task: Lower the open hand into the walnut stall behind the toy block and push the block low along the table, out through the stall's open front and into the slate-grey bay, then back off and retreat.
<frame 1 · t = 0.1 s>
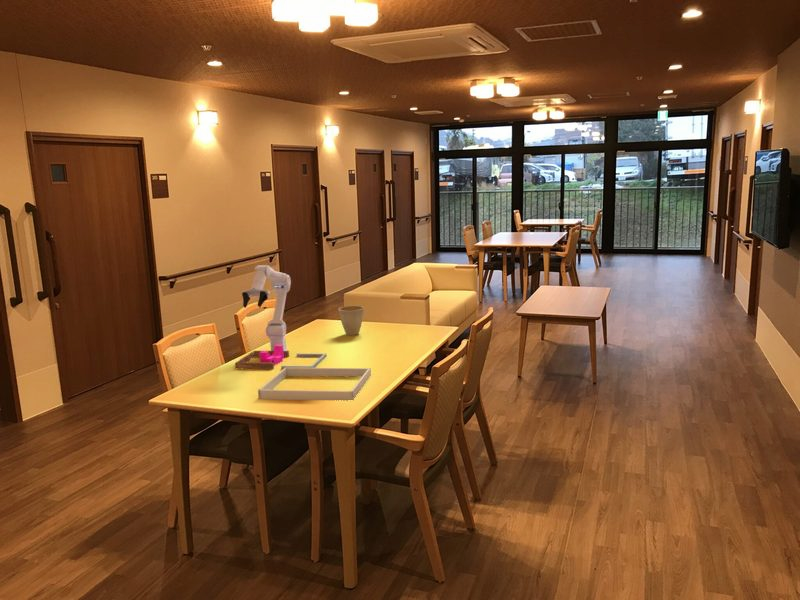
hand: (251, 306, 315), 32 cm above the table, tool tilted 50°, fingers open, 7 cm apart
plant pot: (352, 334, 382), on the table
walnut stall: (265, 362, 331), on the table
toy block: (274, 363, 330), on the table
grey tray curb: (317, 387, 287), on the table
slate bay: (303, 362, 327), on the table
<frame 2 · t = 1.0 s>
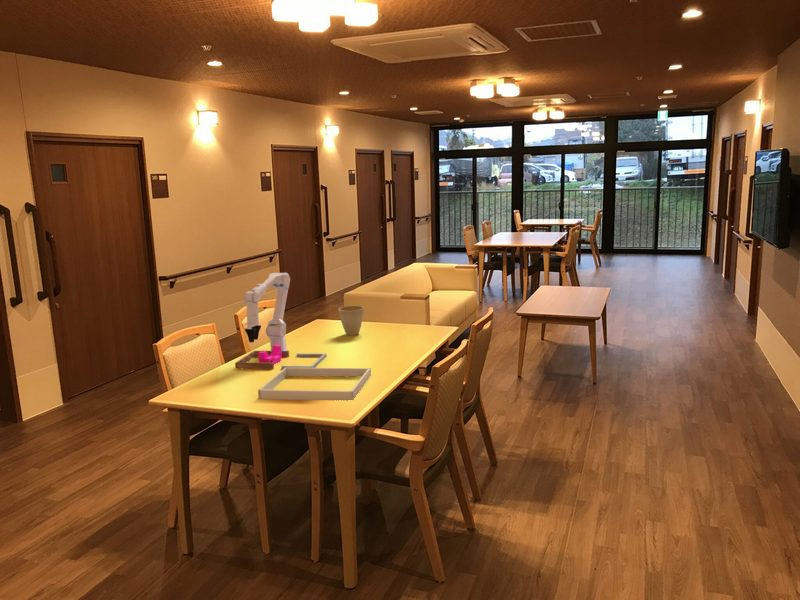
hand: (253, 340, 328), 12 cm above the table, tool pointing down, fingers open, 7 cm apart
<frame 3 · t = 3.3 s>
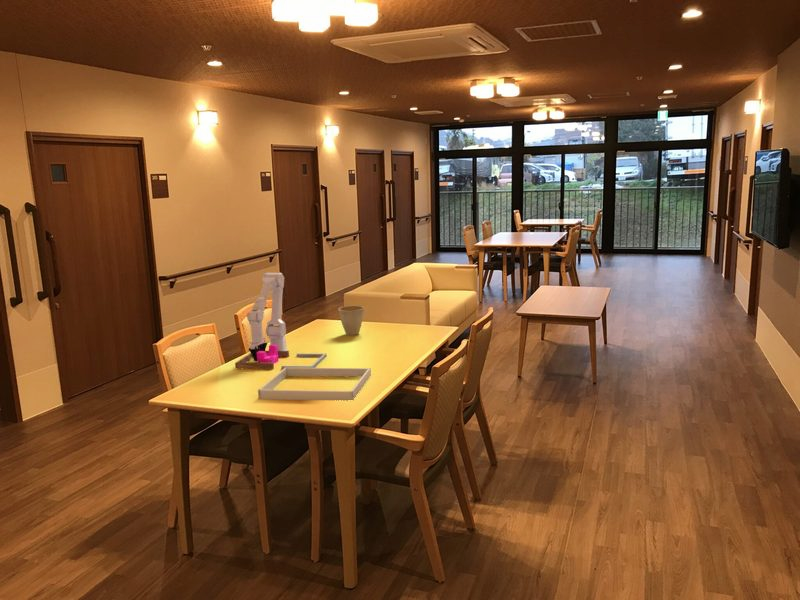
hand: (259, 358, 331), 2 cm above the table, tool pointing down, fingers open, 7 cm apart
toy block: (270, 363, 330), on the table, touching gripper
everything else where it was.
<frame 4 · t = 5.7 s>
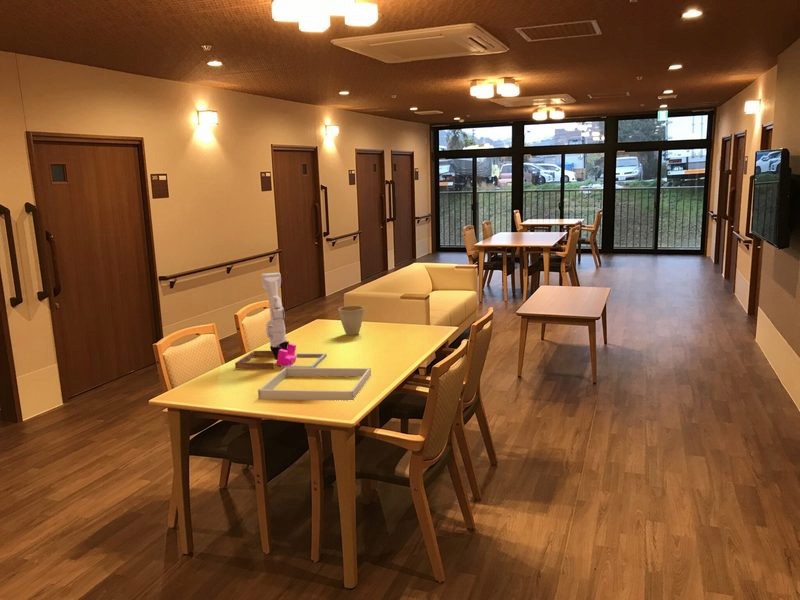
hand: (280, 357, 328), 3 cm above the table, tool pointing down
toy block: (287, 362, 328), on the table, touching gripper
everything else where it was.
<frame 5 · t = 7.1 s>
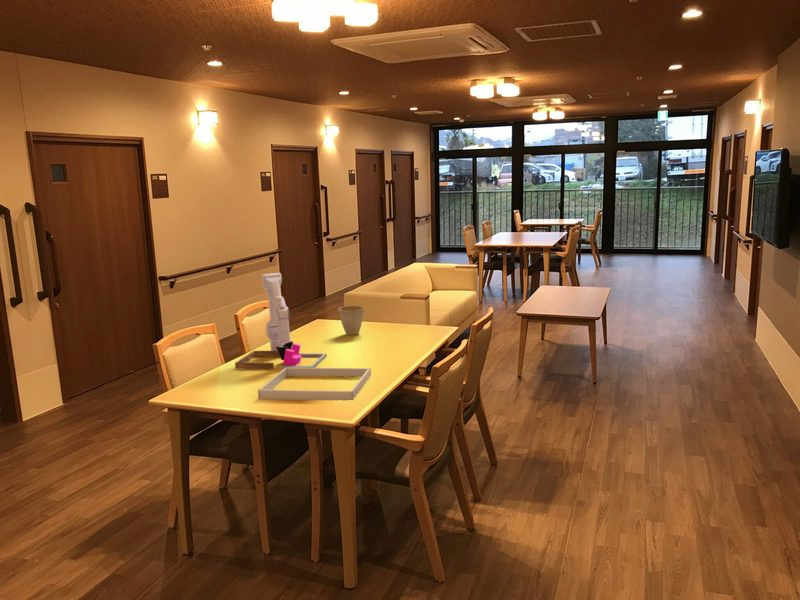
hand: (285, 357, 327), 3 cm above the table, tool pointing down
toy block: (293, 362, 327), on the table, touching gripper
everything else where it was.
when the fingers open (3 cm above the table, at t = 7.3 s): toy block moves 1 cm, on the table.
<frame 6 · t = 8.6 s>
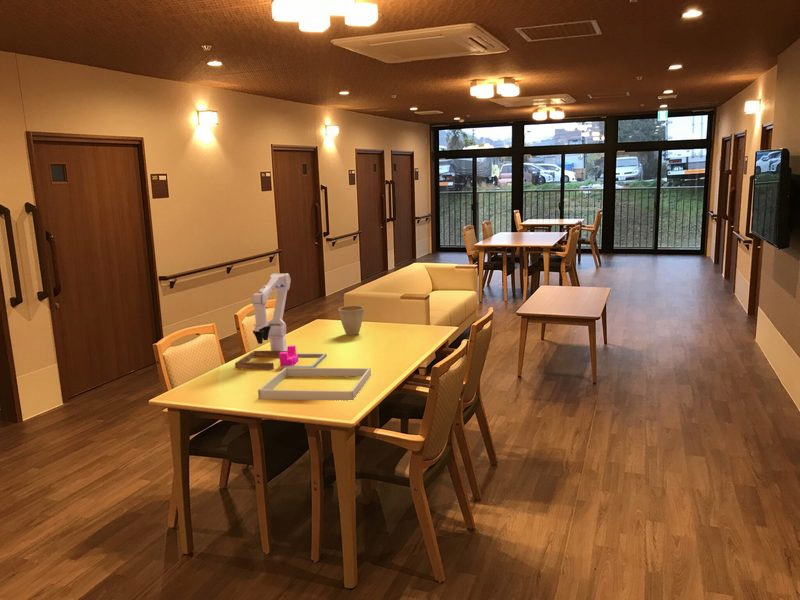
hand: (262, 341, 332), 10 cm above the table, tool pointing down, fingers open, 7 cm apart
toy block: (291, 363, 328), on the table
everything else where it was.
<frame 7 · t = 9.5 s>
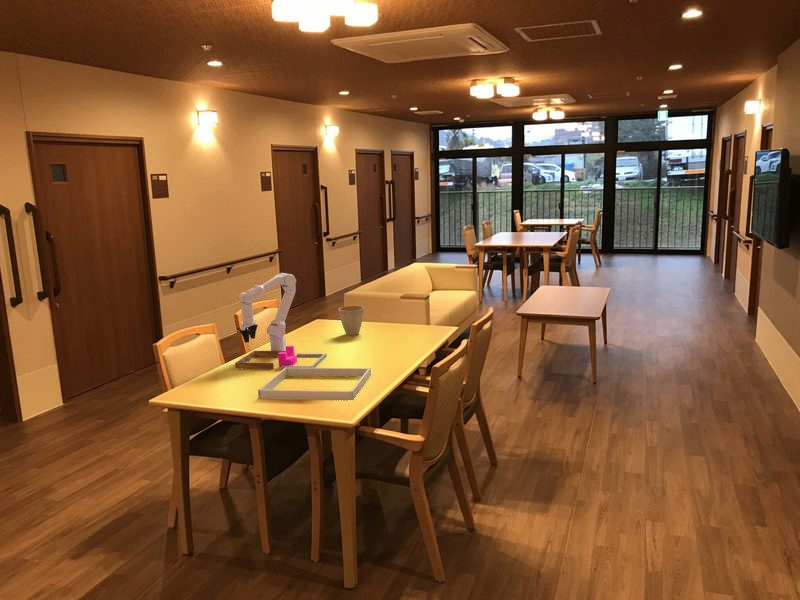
hand: (249, 340, 336), 10 cm above the table, tool pointing down, fingers open, 7 cm apart
nothing on the table moved.
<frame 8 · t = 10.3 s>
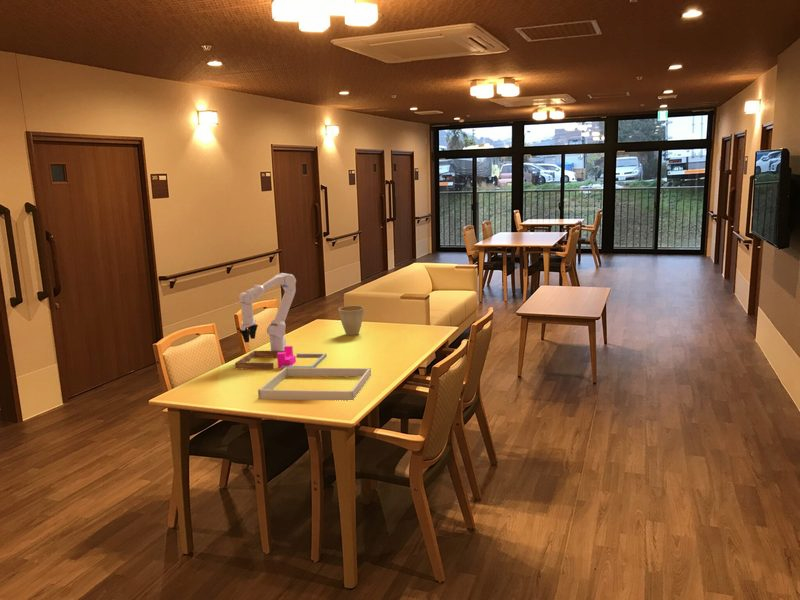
hand: (249, 340, 336), 10 cm above the table, tool pointing down, fingers open, 7 cm apart
at the end: toy block inside the target area (6.0 cm from its centre), on the table; toy block tilted 0°; toy block moved 7.9 cm from its start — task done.
